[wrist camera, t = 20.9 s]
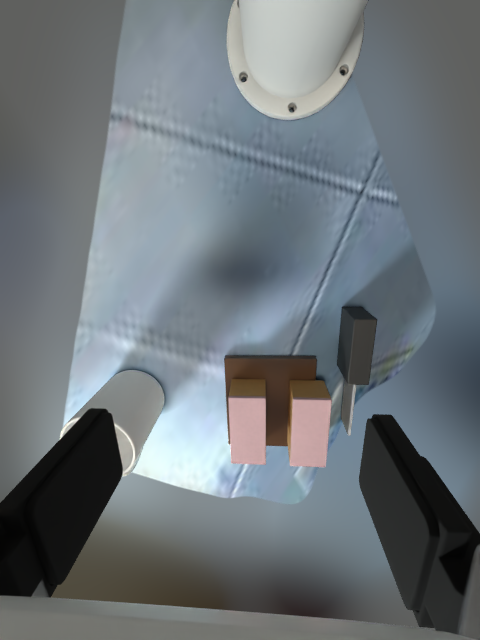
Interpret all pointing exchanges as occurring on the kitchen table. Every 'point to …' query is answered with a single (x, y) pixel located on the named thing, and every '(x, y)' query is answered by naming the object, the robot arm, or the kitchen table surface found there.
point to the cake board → (271, 386)
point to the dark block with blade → (355, 355)
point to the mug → (127, 411)
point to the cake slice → (308, 423)
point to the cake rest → (247, 421)
